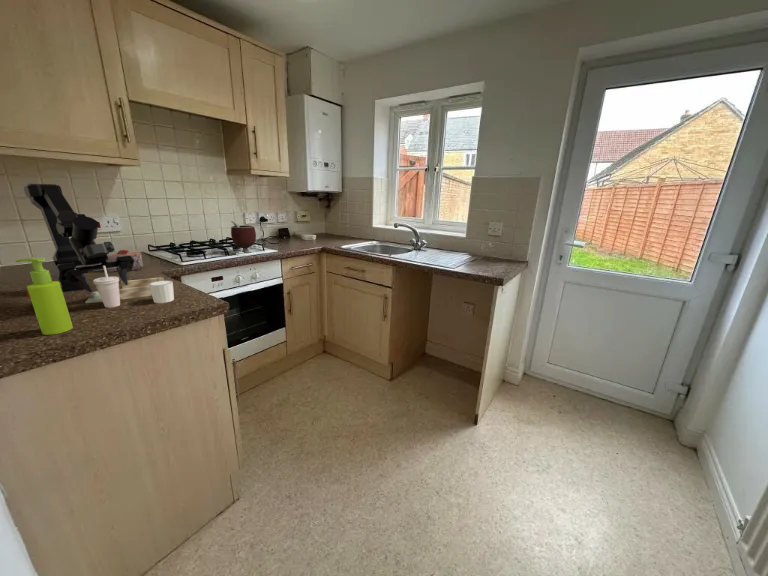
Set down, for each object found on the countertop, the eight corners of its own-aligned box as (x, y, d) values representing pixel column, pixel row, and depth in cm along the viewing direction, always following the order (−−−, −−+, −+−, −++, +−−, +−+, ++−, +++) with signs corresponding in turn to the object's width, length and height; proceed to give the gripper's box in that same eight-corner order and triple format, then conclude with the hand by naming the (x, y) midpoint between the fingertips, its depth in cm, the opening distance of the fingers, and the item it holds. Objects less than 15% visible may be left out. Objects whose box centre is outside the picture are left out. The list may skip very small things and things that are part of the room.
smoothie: (110, 311, 98) (99, 268, 94) (94, 309, 99) (83, 267, 95) (130, 304, 104) (121, 264, 100) (115, 303, 105) (105, 263, 101)
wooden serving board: (118, 301, 107) (115, 290, 106) (123, 291, 117) (121, 281, 116) (163, 295, 113) (161, 285, 112) (165, 286, 124) (163, 277, 123)
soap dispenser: (52, 326, 86) (29, 256, 81) (78, 325, 87) (58, 256, 81) (31, 335, 81) (5, 260, 75) (59, 334, 81) (36, 260, 76)
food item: (145, 267, 155) (141, 247, 153) (143, 270, 149) (138, 250, 146) (111, 269, 149) (106, 249, 146) (106, 273, 142) (101, 252, 140)
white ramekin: (180, 300, 109) (177, 281, 107) (161, 306, 103) (157, 286, 101) (166, 297, 111) (163, 279, 109) (147, 303, 105) (143, 284, 103)
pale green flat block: (86, 304, 102) (84, 300, 102) (94, 294, 113) (93, 290, 112) (117, 300, 107) (116, 296, 106) (122, 291, 117) (121, 287, 116)
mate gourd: (262, 252, 197) (259, 221, 192) (246, 256, 185) (242, 222, 179) (243, 251, 203) (240, 220, 197) (226, 254, 190) (222, 221, 184)
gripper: (47, 237, 89) (71, 279, 86) (125, 231, 104) (147, 267, 102) (47, 260, 95) (69, 301, 93) (120, 252, 110) (141, 286, 108)
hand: (109, 287), depth 99 cm, fingers open, 9 cm apart
